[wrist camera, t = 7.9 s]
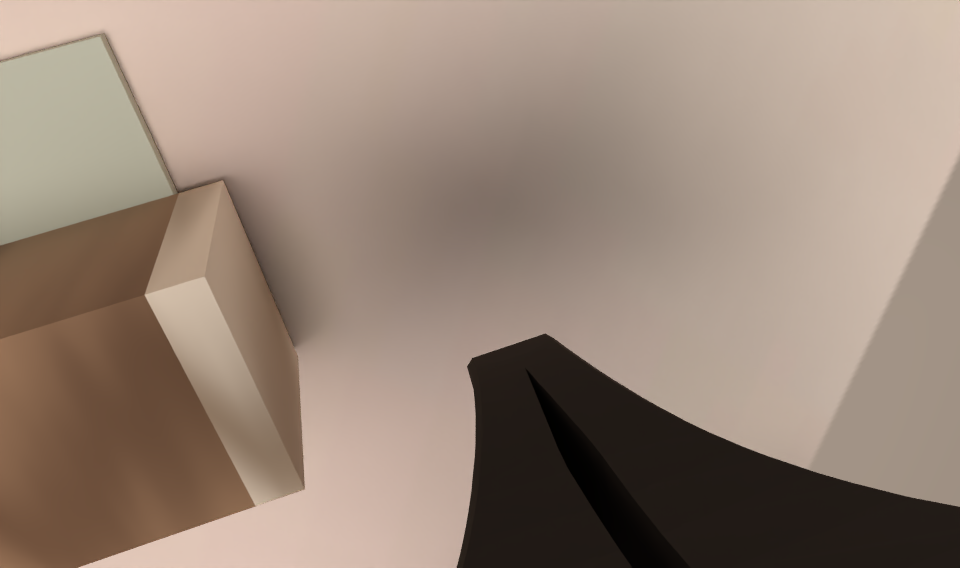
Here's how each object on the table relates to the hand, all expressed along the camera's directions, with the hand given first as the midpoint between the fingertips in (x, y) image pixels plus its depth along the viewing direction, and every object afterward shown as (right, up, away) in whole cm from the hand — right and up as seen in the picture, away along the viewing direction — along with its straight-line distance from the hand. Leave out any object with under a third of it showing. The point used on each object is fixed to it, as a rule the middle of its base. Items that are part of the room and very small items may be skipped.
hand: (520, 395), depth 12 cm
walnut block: (-5, +1, +4) cm, 7 cm away
